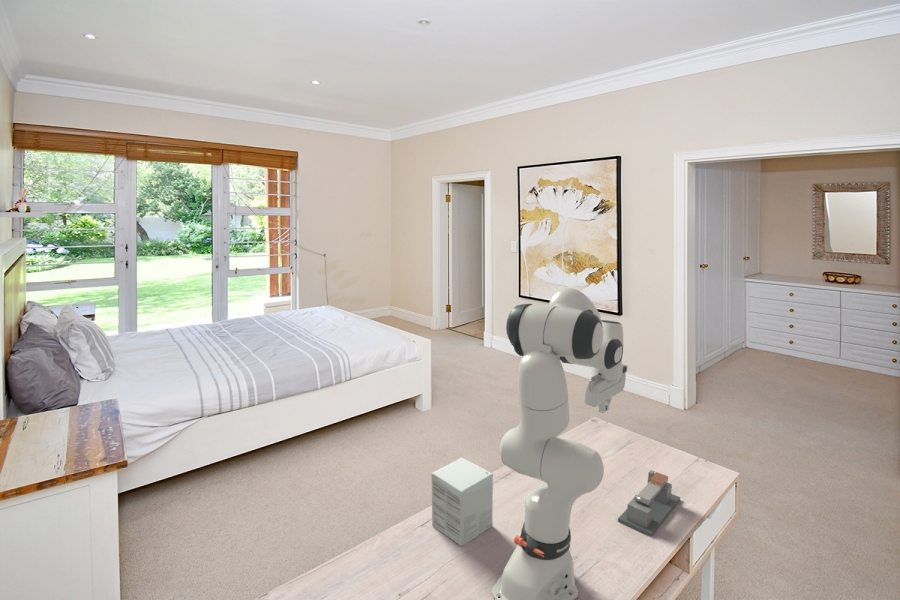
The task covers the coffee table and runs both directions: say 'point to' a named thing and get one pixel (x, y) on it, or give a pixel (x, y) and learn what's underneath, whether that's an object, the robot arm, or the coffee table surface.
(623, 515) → the base
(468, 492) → the supplement box
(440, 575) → the coffee table surface
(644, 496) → the bar
